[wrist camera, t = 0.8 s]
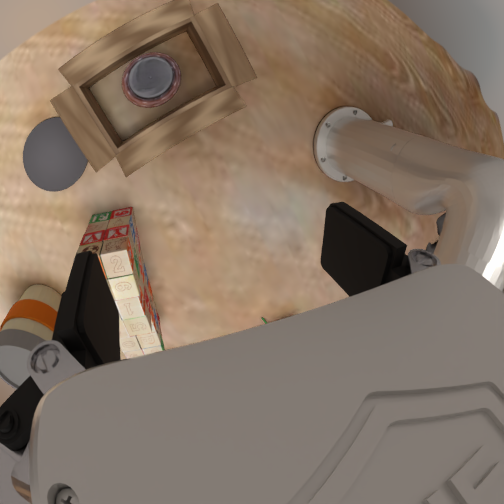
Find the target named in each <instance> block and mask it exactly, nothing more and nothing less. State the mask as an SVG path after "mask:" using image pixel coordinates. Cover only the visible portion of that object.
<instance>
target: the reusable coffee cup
mask: <svg viewBox="0 0 504 504" xmlns="http://www.w3.org/2000/svg"><path fill="white" fill-rule="evenodd" d="M61 297H62V296H61V295H60V294H59V293H58V292H57V291H55V290H54V289H52V288H50V287H48V286H45V285H32V286H30V287H28V288H27V289H26V290H25V292H24V294H23V295H22V297H21V298H20V300H19V301H18V302H16V303H15V304H14V305H13V306H12V308H11V309H10V311H9V313H8V314H7V316H6V317H5V319H4V321H3V323H2V325H1V328H0V377H1V378H2V379H3V380H4V381H5V382H6V383H7V384H9V385H10V386H11V387H13V388H15V389H16V390H17V388H18V387H19V386H20V385H21V384H22V383H23V382H24V381H25V380H26V379H27V378H28V377H29V376H30V374H29V372H28V369H27V359H28V356H29V354H30V352H31V351H32V350H33V349H34V348H35V347H36V346H37V345H38V344H40V343H42V342H44V341H47V340H52V336H53V331H54V326H55V322H56V317H57V313H58V309H59V305H60V301H61Z"/></svg>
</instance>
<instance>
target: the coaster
mask: <svg viewBox="0 0 504 504" xmlns="http://www.w3.org/2000/svg"><path fill="white" fill-rule="evenodd" d="M87 162H88V160H87V158H86V157H85V155H84V154H83V153H82V151H81V149H80V148H79V146H78V145H77V143H76V142H75V140H74V139H73V137H72V136H71V134H70V133H69V131H68V129H67V128H66V126H65V125H64V123H63V121H62V120H61V118H60V117H55V118H50V119H47V120H45V121H43V122H41V123H40V124H38V125H37V126H36V127H35V128H34V129H33V130H32V131H31V133H30V134H29V136H28V138H27V140H26V142H25V146H24V151H23V163H24V168H25V171H26V173H27V175H28V177H29V178H30V180H31V181H32V182H33V183H34V184H35V185H36V186H38V187H39V188H41V189H44V190H46V191H61V190H64V189H67V188H68V187H70V186H72V185H73V184H74V183H75V182H76V181H77V180H78V179H79V178H80V177H81V175H82V174H83V172H84V170H85V168H86V165H87Z"/></svg>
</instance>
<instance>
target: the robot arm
mask: <svg viewBox="0 0 504 504" xmlns="http://www.w3.org/2000/svg"><path fill="white" fill-rule="evenodd" d="M392 126H393V123H392V121H391V120H389V119H388V120H386V121H384V122H382V123H381V122H377V121H373V120H372V118H371V117H370V116H369V115H368V114H367V113H366V112H364V111H363V110H361V109H358V108H355V107H346V106H345V107H339V108H337V109H334V110H332V111H331V112H330V113H328V114H327V115H326V116H325V117H324V118H323V119H322V121H321V123H320V124H319V126H318V128H317V131H316V133H315V138H314V155H315V159H316V162H317V164H318V166H319V168H320V169H321V170H322V171H323V173H324V174H326V175H327V176H328V177H330V178H332V179H333V180H336V181H339V182H350V181H353V180H356V181H358V182H359V183H361V184H363V185H365V186H367V187H368V188H370V189H372V190H374V191H376V192H377V193H379V194H381V195H383V196H384V197H386V198H388V199H389V200H391V201H393V202H395V203H396V204H398V205H400V206H401V207H403V208H405V209H406V210H408V211H410V212H412V213H415V214H418V215H432V214H436V213H440V212H442V211H445V210H446V216H445V220H444V223H443V228H442V231H441V234H440V237H439V240H438V243H437V245H436V248H435V251H434V254H433V253H431V252H429V251H427V250H423V249H413V250H410V252H409V253H408V256H407V255H405V251H406V247H407V245H406V244H404V243H403V242H402V241H400V240H399V239H398V238H396V237H395V236H393V235H392V234H391V233H389V232H388V231H386V230H385V229H383V228H382V227H381V226H379V225H378V224H376V223H375V222H373V221H372V220H370V219H369V218H367V217H366V216H364V215H363V214H361V213H360V212H358V211H357V210H355V209H354V208H352V207H351V206H349V205H348V204H346V203H345V202H339V203H332V204H330V206H329V207H328V208H327V210H326V217H325V227H324V236H323V245H322V254H321V265H322V267H323V269H324V270H325V271H326V272H327V273H328V274H329V275H330V276H331V277H332V278H333V279H334V280H335V281H336V282H337V283H338V284H339V286H340V287H341V288H342V289H343V290H344V291H345V292H346V293H347V294H348V295H349V296H350V297H348V298H345V299H342V300H339V301H336V302H334V303H331V304H328V305H325V306H322V307H319V308H316V309H313V310H310V311H306V312H303V313H300V314H297V315H294V316H291V317H287V318H284V319H281V320H277V321H274V322H271V323H267V324H264V325H260V326H257V327H253V328H250V329H246V330H243V331H239V332H235V333H232V334H228V335H224V336H220V337H217V338H213V339H209V340H205V341H201V342H197V343H193V344H189V345H185V346H180V347H176V348H172V349H167V350H163V351H158V352H154V353H149V354H145V355H141V356H136V357H132V358H128V359H123V360H120V333H119V312H118V308H117V306H116V303H115V301H114V298H113V296H112V293H111V291H110V288H109V286H108V283H107V280H106V277H105V275H104V272H103V269H102V266H101V263H100V261H99V258H98V255H97V253H94V254H93V253H92V252H91V251H85V252H81V253H77V254H76V256H75V260H74V263H73V266H72V269H71V273H70V276H69V280H68V284H67V287H66V291H65V292H63V294H62V297H61V301H60V305H59V309H58V313H57V317H56V322H55V326H54V331H53V336H52V340H47V341H44V342H42V343H40V344H38V345H37V346H36V347H35V348H34V349H33V350H32V351H31V352H30V354H29V356H28V359H27V369H28V372H29V374H30V376H29V377H28V378H27V379H26V380H25V381H24V382H23V383H22V384H21V385H20V386H19V387H18V388H17V390H16V391H15V392H14V393H13V394H12V395H11V396H10V397H9V398H8V399H7V400H6V401H5V402H4V403H3V404H2V406H1V407H0V504H504V160H503V159H501V158H497V157H493V156H489V155H485V154H481V153H477V152H473V151H469V150H466V149H462V148H458V147H455V146H452V145H449V144H446V143H443V142H440V141H437V140H434V139H431V138H428V137H425V136H422V135H419V134H416V133H412V132H409V131H406V130H403V129H399V128H396V127H392Z"/></svg>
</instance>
